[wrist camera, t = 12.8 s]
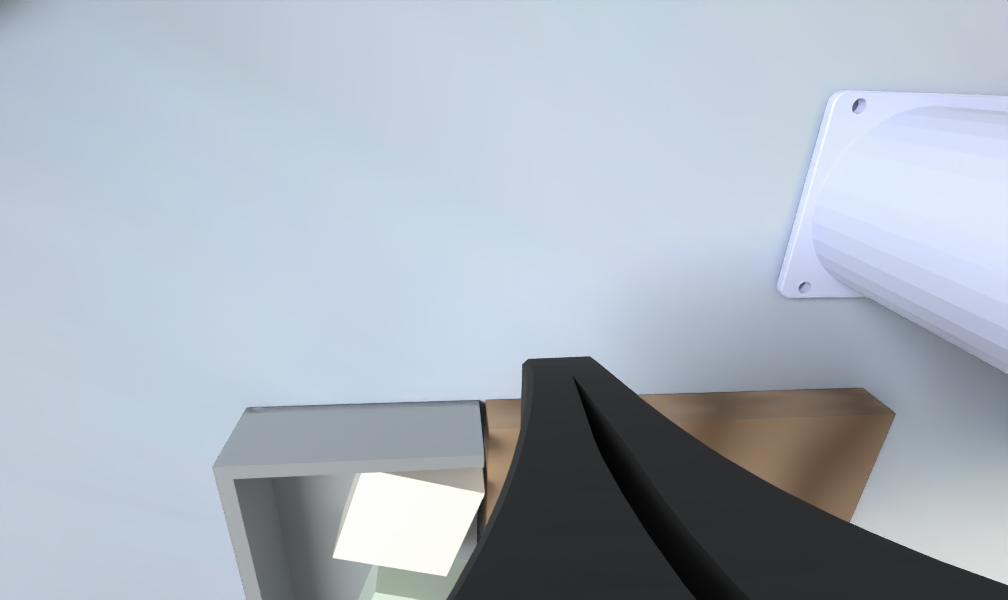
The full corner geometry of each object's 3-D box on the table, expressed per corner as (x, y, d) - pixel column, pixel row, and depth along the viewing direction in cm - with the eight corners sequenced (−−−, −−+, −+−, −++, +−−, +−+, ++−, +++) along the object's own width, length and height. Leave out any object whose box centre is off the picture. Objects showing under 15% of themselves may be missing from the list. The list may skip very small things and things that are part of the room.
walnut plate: (862, 387, 24) (896, 413, 23) (769, 631, 32) (788, 665, 30) (485, 400, 23) (489, 429, 21) (479, 656, 30) (481, 694, 28)
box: (478, 400, 23) (484, 455, 19) (474, 656, 30) (477, 726, 27) (246, 407, 21) (212, 467, 18) (301, 671, 29) (283, 745, 26)
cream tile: (481, 452, 23) (484, 493, 21) (446, 530, 25) (446, 576, 23) (371, 427, 22) (362, 468, 20) (343, 511, 24) (332, 558, 22)
